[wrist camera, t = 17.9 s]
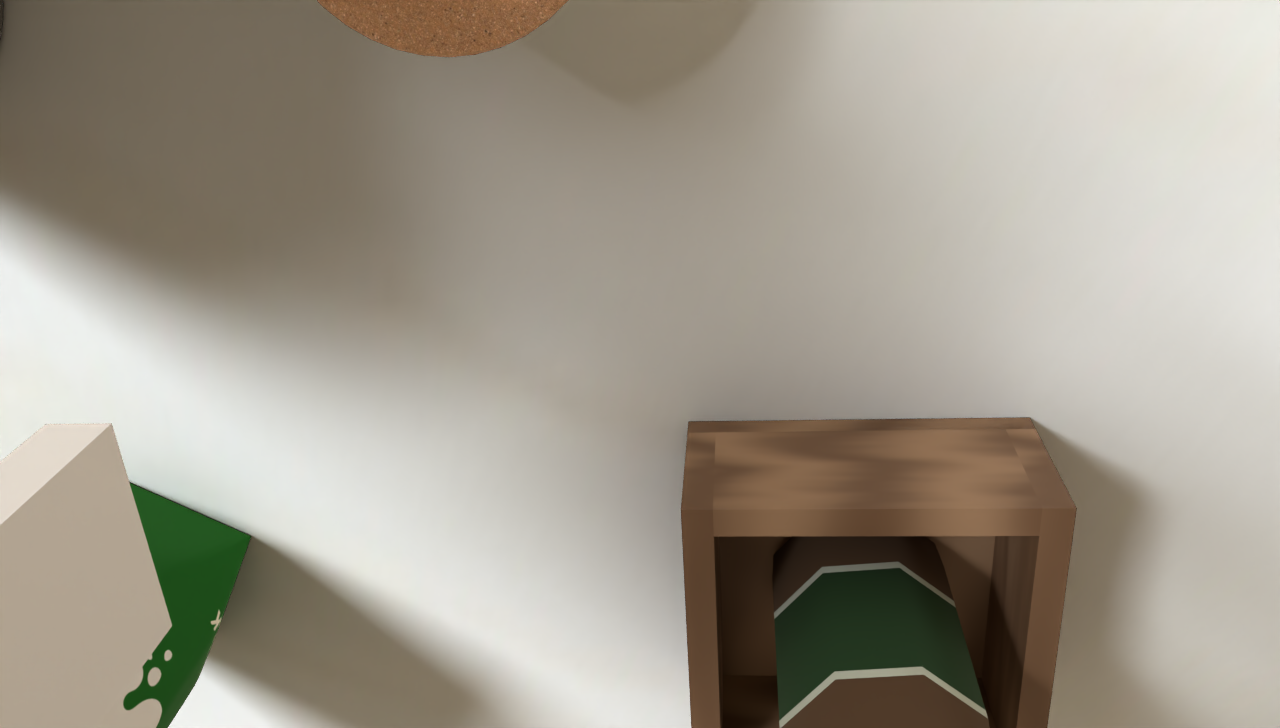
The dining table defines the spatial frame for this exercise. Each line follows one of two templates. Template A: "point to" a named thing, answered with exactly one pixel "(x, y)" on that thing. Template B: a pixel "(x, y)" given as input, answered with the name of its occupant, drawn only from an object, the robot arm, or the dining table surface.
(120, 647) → the robot arm
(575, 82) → the dining table surface
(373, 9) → the lidded jar
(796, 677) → the beer bottle
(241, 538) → the milk carton
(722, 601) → the walnut box
